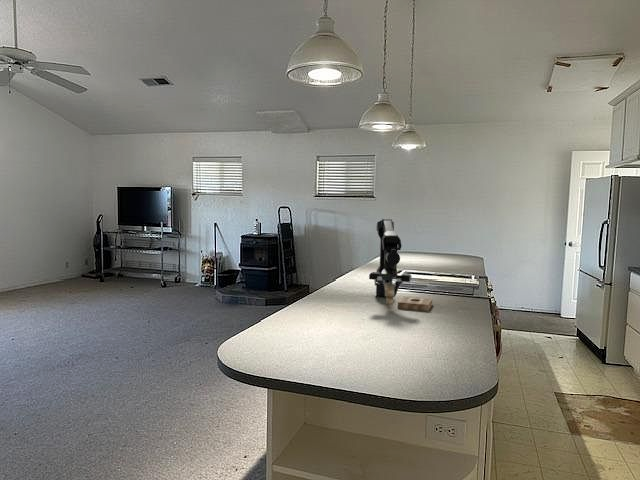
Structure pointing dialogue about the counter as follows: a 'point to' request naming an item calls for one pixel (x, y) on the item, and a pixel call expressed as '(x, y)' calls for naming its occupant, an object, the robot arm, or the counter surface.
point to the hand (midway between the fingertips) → (389, 295)
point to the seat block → (415, 303)
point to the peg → (389, 293)
